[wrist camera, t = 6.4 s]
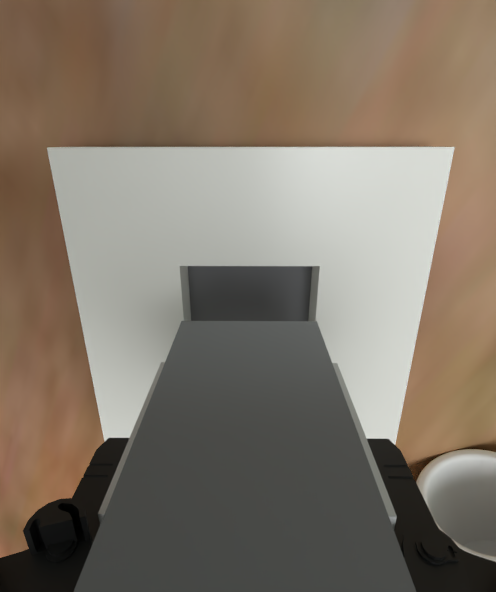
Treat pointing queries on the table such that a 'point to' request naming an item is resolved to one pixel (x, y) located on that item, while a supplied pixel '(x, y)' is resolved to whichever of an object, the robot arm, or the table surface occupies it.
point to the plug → (246, 476)
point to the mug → (463, 498)
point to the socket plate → (251, 257)
